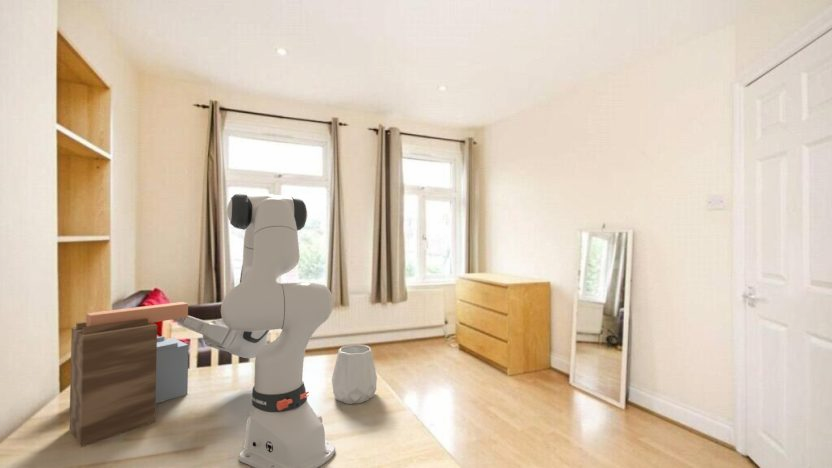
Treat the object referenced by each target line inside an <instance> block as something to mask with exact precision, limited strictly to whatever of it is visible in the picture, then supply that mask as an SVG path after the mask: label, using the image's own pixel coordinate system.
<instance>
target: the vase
mask: <svg viewBox="0 0 832 468" xmlns="http://www.w3.org/2000/svg"><path fill="white" fill-rule="evenodd" d="M374 360H375V359H374V356H373V350H372V348H371V347H370V346H369V345H365V344H356V343H355V344H348V345H344V346H341V347H340V348H338V351H337V356H336V360H335V364H334V369H333V373H332V378H331V384H332V391H333V392H332V393H333V395H334V397H335V399H336V400H337V401H338V402H342V403H344V404H347V405H353V404H352V403H356V404H362V402H363V403H364V401H365V402H367V401H368V400H370V399H371V398H373V397H374V395H375V393H376V392H377V380H378V379H377V378H378V377H377V370H376V364H375V361H374ZM369 398H370V399H369ZM366 400H367V401H366Z"/></svg>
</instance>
